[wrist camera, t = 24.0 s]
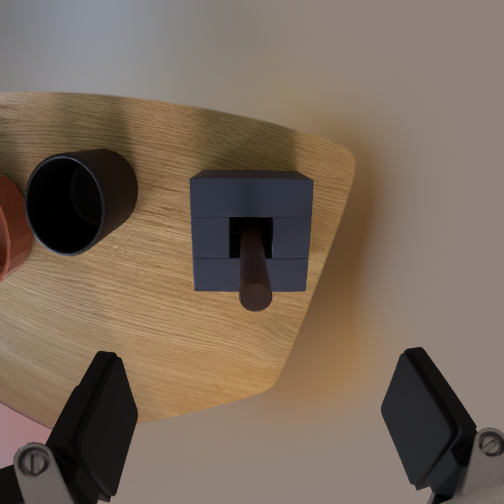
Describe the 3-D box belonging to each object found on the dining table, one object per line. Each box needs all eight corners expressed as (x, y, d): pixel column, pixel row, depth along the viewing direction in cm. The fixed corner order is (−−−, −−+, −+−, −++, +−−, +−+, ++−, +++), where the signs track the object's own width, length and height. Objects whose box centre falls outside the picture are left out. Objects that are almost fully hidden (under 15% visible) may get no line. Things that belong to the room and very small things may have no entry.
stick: (241, 210, 34) (239, 282, 17) (257, 211, 34) (273, 283, 17) (240, 227, 34) (239, 312, 17) (257, 227, 34) (271, 312, 17)
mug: (53, 148, 30) (6, 154, 22) (142, 150, 31) (108, 154, 22) (52, 224, 33) (9, 247, 25) (137, 233, 34) (106, 262, 26)
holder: (202, 170, 32) (189, 178, 25) (297, 171, 32) (313, 179, 25) (204, 259, 35) (194, 291, 28) (292, 260, 36) (305, 291, 28)
